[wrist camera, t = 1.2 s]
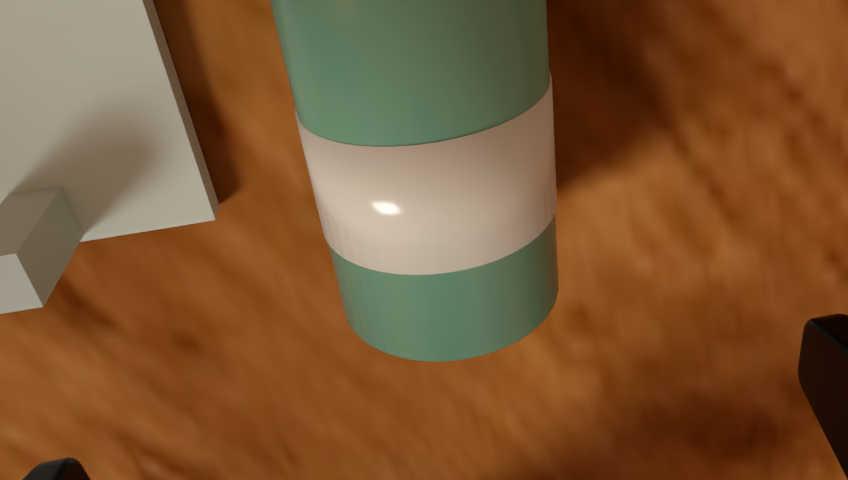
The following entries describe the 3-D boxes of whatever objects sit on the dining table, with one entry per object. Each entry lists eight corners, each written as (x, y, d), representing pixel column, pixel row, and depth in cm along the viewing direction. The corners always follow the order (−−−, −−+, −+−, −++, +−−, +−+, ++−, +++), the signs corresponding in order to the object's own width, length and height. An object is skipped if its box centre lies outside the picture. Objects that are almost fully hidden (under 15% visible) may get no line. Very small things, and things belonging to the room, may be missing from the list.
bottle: (536, 217, 22) (585, 342, 17) (344, 245, 22) (339, 378, 17) (499, -416, 14) (568, -512, 9) (205, -369, 14) (125, -441, 9)
